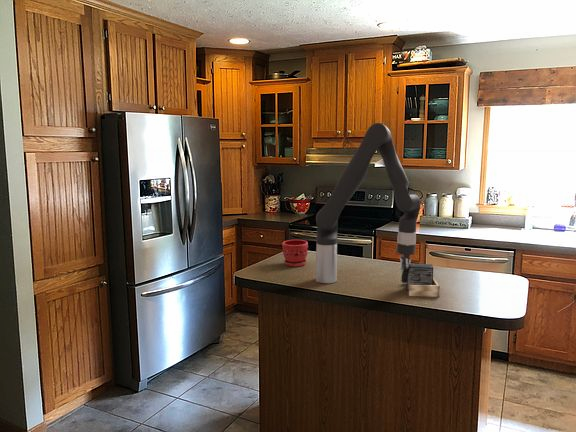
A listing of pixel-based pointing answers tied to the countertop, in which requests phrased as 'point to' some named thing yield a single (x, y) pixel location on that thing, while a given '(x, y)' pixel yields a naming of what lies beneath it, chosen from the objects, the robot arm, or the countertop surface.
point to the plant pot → (295, 252)
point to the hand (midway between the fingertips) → (404, 282)
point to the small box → (420, 275)
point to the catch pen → (425, 289)
